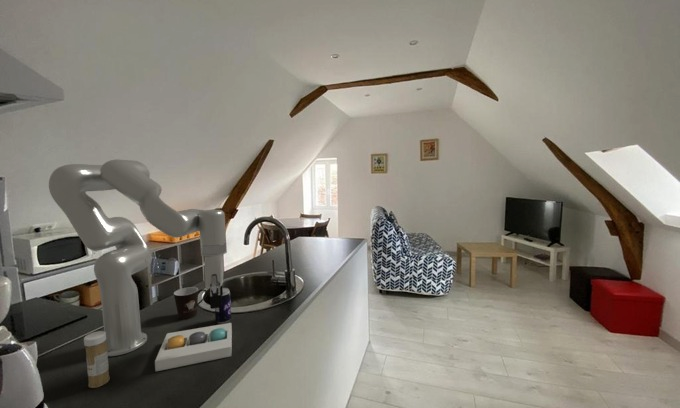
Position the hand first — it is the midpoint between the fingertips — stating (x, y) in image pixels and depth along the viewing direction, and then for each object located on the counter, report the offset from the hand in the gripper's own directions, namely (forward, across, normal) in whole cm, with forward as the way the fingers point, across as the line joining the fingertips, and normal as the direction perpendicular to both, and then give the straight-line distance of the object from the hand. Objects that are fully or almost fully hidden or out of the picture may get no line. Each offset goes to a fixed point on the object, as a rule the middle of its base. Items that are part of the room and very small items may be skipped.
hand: (217, 301), depth 95 cm
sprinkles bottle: (+15, +8, -29) cm, 34 cm away
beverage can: (+15, -17, +1) cm, 22 cm away
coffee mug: (+15, -27, -11) cm, 33 cm away
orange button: (+12, 0, -12) cm, 17 cm away
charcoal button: (+12, 0, -6) cm, 14 cm away
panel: (+14, 0, -6) cm, 16 cm away
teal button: (+12, 0, 0) cm, 12 cm away
